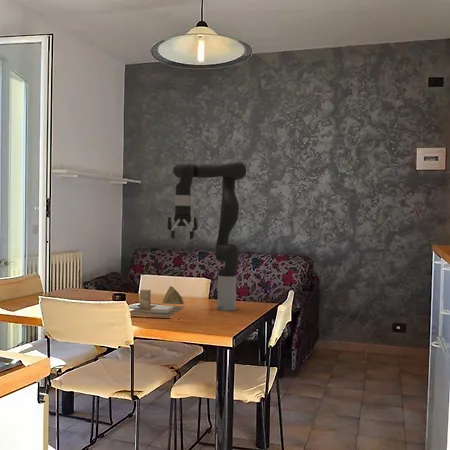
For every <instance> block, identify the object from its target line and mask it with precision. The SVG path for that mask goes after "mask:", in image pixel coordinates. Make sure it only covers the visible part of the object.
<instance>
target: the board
mask: <svg viewBox="0 0 450 450" xmlns="http://www.w3.org/2000/svg"><path fill="white" fill-rule="evenodd" d="M156 306H158V305H157V304H150V308H149V309H140V306H138V307H136V308H134V309H132V310H130V313H131V315H130V316H131V317H130V318H132V319H133V318H137V319H153V320H167V319H169V320H171V318H172V317H171V316H173V315H175V314H176V313H178V312H180V311H181V310H183V309H185V308H186V306H178V305H176V306H175V305H173V306H174V310H173V311H171V312H169V313H168V314H163V313H152V312H151V309H152V308H154V307H156ZM170 317H171V318H170Z"/></svg>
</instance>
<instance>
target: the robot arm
mask: <svg viewBox="0 0 450 450" xmlns="http://www.w3.org/2000/svg"><path fill="white" fill-rule="evenodd" d="M172 171H173V172H172V173H173V175H174V176H175V177H177V178H178V179H179V182H178V183H176V185H175V198H174V217H172V216H168V217H167V230H169V231H171V233H170V234H171V239H172V240H175V239H176V229H177V228H178V227H187V228H188V229H189V240H193V239H194V236H195V235H194V234H195V232H196V231H197V230H198V227H199V226H198V217H192V216H191V215H192V212H191V211H192V197H191V192H192V191H191V189H192V188H191V186H192V184H193V179H194V178H196V179H198V178H200V179H201V178H202V179H205V178H206V179H207V178H208V179H209V178H218V177H219V178H221V177H222V194H221V206H220V214H219V225H218V233H217V238H216V242H215V250H214V255H215V259H216V260H217V262H218V261H219V262H222V263H224V266H223V268H220V269H218V271H217V310H218V311H222V312H224V311H225V312H227V311H229V312H230V311H235V310H236V309H237V307H236V304H237V303H236V302H237V298H236V297H237V296H236V295H237V292H236V291H237V272H238V269H239V257H240V256H239V248H238V246H237V245H235V244H232V243H229V237H230V234H231V232H232V230H233V228H234V227H235V226H236V224H237V222H238V218H239V212H240V204H239V201H238V197H237V196H236V195H237V194H236V192H235V188H236V187H235V186H236V181H237V180H242V179H243V178H245V176H246V174H247V167H246V164H244V163H243V162H241V161H232V162H231V161H230V162H228V163H205V162H203V163H202V162H201V163H199V162H198V163H197V162H196V163H191V162H181V163H180V162H179V163H177V164H175V165H174V167H173V169H172ZM191 221H192V223H193V226H192V224H191ZM173 222H175V223H174V224H172V223H173ZM172 225H173V226H172Z"/></svg>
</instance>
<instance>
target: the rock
mask: <svg viewBox="0 0 450 450" xmlns="http://www.w3.org/2000/svg"><path fill="white" fill-rule="evenodd" d="M161 303H162V304H166V305H167V304H168V305H184V304H185V302H184V300H183V297H182V296H181V294H180V293H179V291H177V290H176V288H174V286H169V287H168V289H167V291H166V293H165V295H164V297H163V299H162V302H161Z"/></svg>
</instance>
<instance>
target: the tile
mask: <svg viewBox="0 0 450 450" xmlns="http://www.w3.org/2000/svg"><path fill="white" fill-rule="evenodd" d="M174 306H175V305H163V304H162V305H161V304H159V305H158V306H156V307H154V308H152V309H151V312H152V313H163V314H168V313H169V312H171V311H173V310H174Z"/></svg>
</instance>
